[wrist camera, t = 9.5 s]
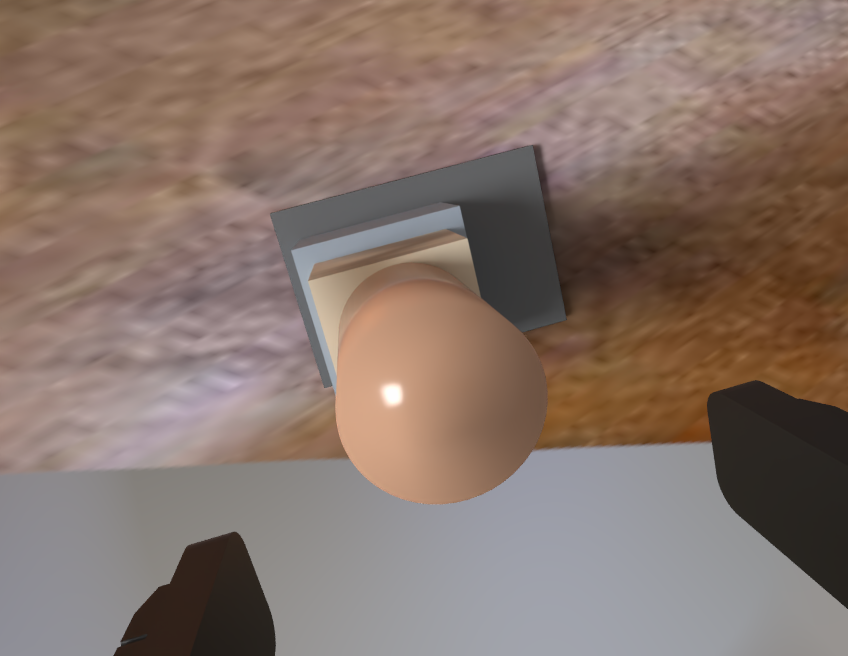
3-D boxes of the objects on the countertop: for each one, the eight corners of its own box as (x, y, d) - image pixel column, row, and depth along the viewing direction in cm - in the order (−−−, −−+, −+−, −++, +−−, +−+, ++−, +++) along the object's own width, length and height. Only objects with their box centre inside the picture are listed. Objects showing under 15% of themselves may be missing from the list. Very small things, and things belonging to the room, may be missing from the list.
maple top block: (445, 228, 25) (467, 238, 20) (475, 353, 26) (501, 387, 22) (314, 263, 24) (307, 281, 20) (351, 388, 26) (353, 429, 21)
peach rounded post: (464, 245, 20) (523, 276, 14) (496, 381, 22) (565, 470, 15) (319, 284, 20) (307, 336, 13) (361, 420, 21) (368, 529, 15)
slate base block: (440, 202, 29) (459, 205, 25) (472, 336, 31) (496, 364, 26) (299, 239, 29) (290, 250, 24) (340, 373, 31) (340, 408, 26)
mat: (528, 145, 30) (532, 145, 29) (562, 317, 32) (566, 319, 32) (271, 213, 29) (269, 213, 28) (324, 384, 31) (324, 388, 31)
